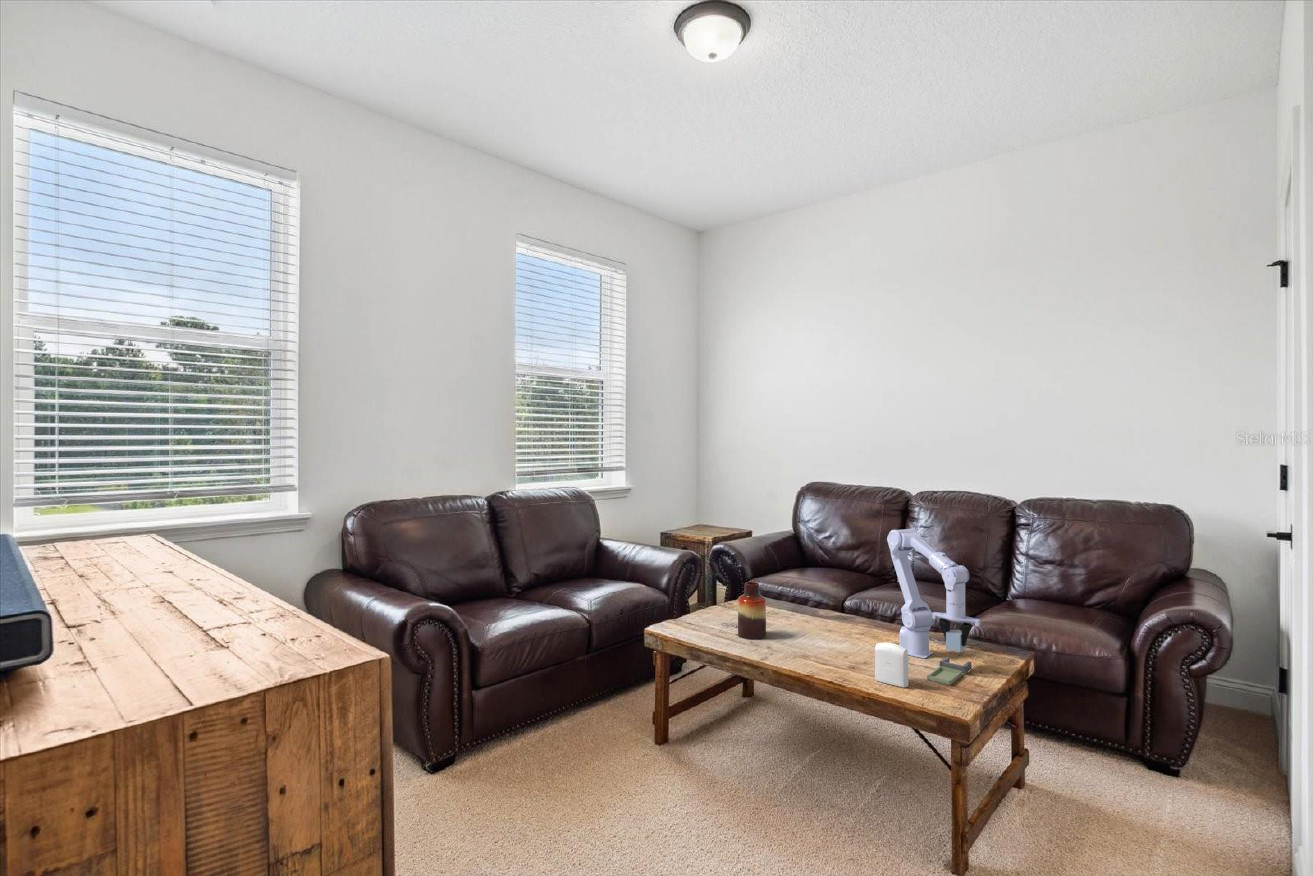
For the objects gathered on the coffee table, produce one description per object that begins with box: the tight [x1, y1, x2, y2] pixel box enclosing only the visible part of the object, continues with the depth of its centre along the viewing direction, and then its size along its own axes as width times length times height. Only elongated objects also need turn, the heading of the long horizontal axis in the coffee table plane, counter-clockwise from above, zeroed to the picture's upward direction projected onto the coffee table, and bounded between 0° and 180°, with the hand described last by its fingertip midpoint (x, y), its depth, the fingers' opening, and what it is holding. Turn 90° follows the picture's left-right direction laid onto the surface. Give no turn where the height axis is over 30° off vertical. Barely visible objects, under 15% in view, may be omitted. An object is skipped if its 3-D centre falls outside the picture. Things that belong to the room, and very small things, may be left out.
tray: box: [926, 665, 963, 687], centre depth 210 cm, size 7×12×2 cm, turn 138°
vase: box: [737, 581, 767, 641], centre depth 255 cm, size 11×11×20 cm
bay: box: [939, 656, 972, 675], centre depth 218 cm, size 8×6×2 cm
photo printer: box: [874, 641, 909, 689], centre depth 206 cm, size 10×4×12 cm, turn 47°
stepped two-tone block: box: [945, 629, 967, 653], centre depth 219 cm, size 4×9×6 cm, turn 139°
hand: (955, 644), depth 218 cm, fingers closed on stepped two-tone block, 4 cm apart
